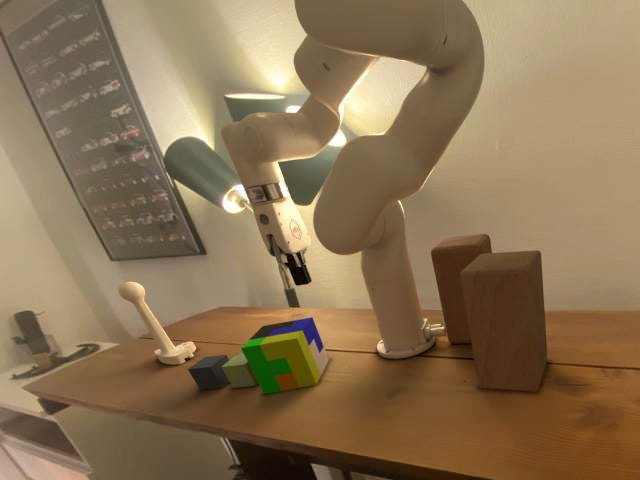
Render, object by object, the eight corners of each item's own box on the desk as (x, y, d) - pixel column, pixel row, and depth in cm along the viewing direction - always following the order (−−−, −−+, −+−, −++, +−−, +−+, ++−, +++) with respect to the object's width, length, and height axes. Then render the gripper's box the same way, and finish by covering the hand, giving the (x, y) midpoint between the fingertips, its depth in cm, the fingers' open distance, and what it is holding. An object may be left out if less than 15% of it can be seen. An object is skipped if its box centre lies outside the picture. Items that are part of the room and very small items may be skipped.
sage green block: (269, 372, 79) (259, 352, 77) (255, 385, 75) (244, 364, 72) (247, 374, 80) (237, 354, 77) (232, 387, 75) (221, 366, 73)
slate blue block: (237, 374, 80) (226, 354, 78) (222, 387, 76) (210, 366, 74) (216, 376, 81) (204, 356, 79) (200, 389, 77) (187, 369, 74)
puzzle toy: (329, 359, 80) (312, 317, 76) (316, 384, 72) (297, 338, 67) (282, 368, 80) (262, 325, 75) (264, 394, 71) (240, 348, 66)
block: (494, 344, 76) (480, 244, 66) (447, 345, 78) (428, 249, 69) (501, 323, 84) (490, 232, 75) (459, 325, 87) (442, 237, 77)
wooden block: (548, 361, 67) (541, 249, 57) (537, 393, 59) (527, 269, 49) (495, 359, 70) (480, 252, 61) (478, 389, 62) (458, 272, 53)
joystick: (154, 360, 94) (104, 284, 85) (185, 346, 100) (142, 274, 90) (175, 366, 89) (125, 286, 79) (207, 351, 95) (163, 274, 85)
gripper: (265, 196, 67) (304, 292, 76) (303, 188, 80) (333, 271, 89) (227, 203, 68) (270, 297, 77) (271, 194, 81) (304, 276, 90)
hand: (304, 283), depth 83 cm, fingers closed
